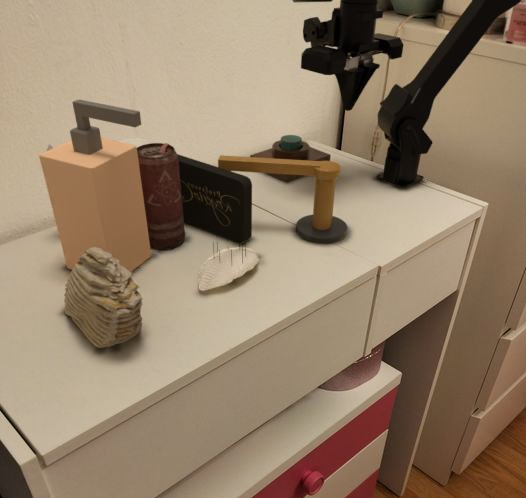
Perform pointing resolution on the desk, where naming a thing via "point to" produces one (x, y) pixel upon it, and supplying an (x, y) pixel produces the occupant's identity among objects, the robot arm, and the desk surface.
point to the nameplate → (216, 199)
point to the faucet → (322, 217)
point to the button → (291, 142)
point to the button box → (292, 157)
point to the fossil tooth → (103, 299)
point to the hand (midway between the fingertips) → (347, 110)
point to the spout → (281, 166)
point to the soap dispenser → (98, 189)
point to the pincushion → (226, 266)
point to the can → (161, 194)
